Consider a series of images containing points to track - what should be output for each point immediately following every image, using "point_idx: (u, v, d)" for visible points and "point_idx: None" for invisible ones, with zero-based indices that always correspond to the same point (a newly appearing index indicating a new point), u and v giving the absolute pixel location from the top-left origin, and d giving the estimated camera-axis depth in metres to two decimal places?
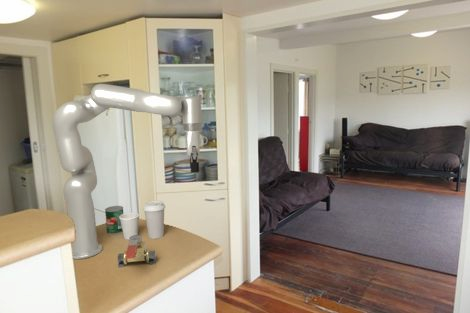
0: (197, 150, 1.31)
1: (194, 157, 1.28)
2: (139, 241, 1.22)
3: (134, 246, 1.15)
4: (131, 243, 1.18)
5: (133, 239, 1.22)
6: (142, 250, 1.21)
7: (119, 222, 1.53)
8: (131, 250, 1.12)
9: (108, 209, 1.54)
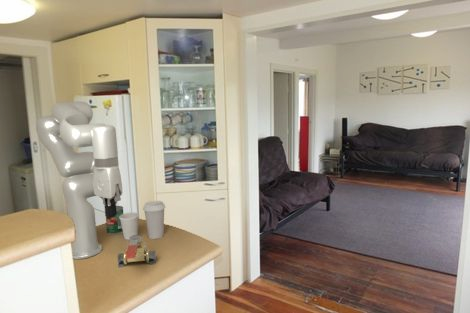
0: (121, 188, 1.11)
1: None
2: (139, 241, 1.22)
3: (134, 246, 1.15)
4: (131, 243, 1.18)
5: (133, 239, 1.22)
6: (142, 250, 1.21)
7: (119, 222, 1.53)
8: (131, 250, 1.12)
9: None
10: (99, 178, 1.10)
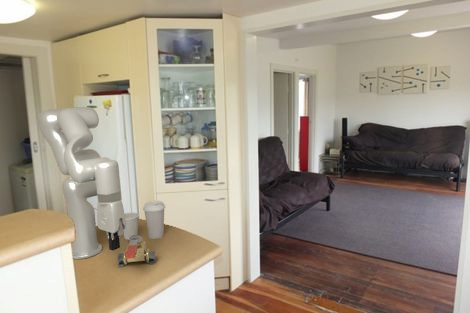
0: (124, 222, 1.12)
1: None
2: (139, 241, 1.22)
3: (134, 246, 1.15)
4: (131, 243, 1.18)
5: (133, 239, 1.22)
6: (142, 250, 1.21)
7: None
8: (131, 250, 1.12)
9: None
10: (103, 213, 1.12)
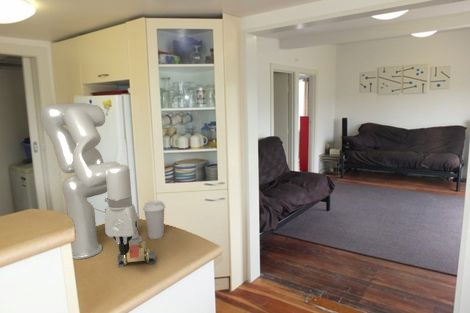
0: (137, 225, 1.14)
1: None
2: (139, 241, 1.22)
3: (136, 246, 1.15)
4: (132, 243, 1.18)
5: (134, 239, 1.22)
6: (142, 250, 1.21)
7: None
8: (134, 249, 1.12)
9: None
10: (116, 218, 1.11)
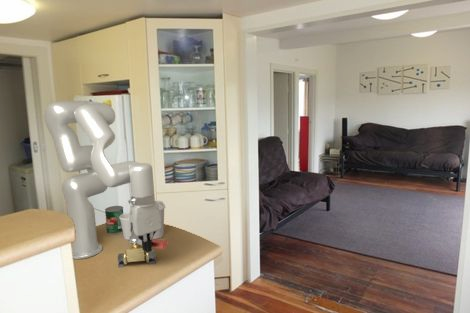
0: None
1: None
2: None
3: (155, 239, 1.20)
4: None
5: None
6: (142, 250, 1.21)
7: (119, 222, 1.53)
8: (160, 241, 1.19)
9: (108, 209, 1.54)
10: (148, 215, 1.13)
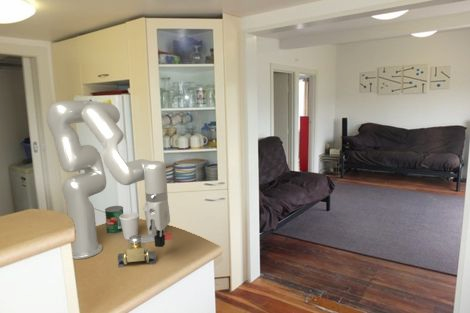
0: None
1: None
2: None
3: None
4: (150, 236, 1.24)
5: (139, 237, 1.23)
6: (142, 250, 1.21)
7: (119, 222, 1.53)
8: (166, 233, 1.25)
9: (108, 209, 1.54)
10: (164, 210, 1.18)
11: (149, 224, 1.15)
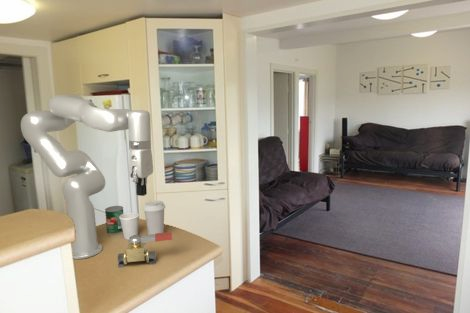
0: None
1: None
2: None
3: (158, 233, 1.26)
4: (150, 236, 1.24)
5: (139, 237, 1.23)
6: (142, 250, 1.21)
7: (119, 222, 1.53)
8: (166, 233, 1.25)
9: (108, 209, 1.54)
10: (147, 159, 1.20)
11: (131, 171, 1.17)
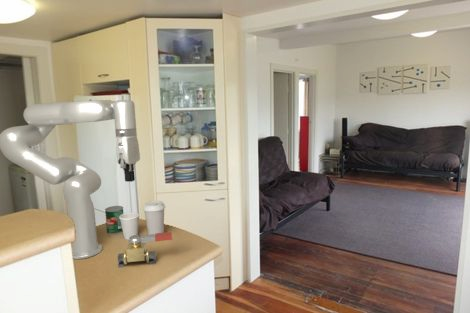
0: None
1: None
2: None
3: (158, 233, 1.26)
4: (150, 236, 1.24)
5: (139, 237, 1.23)
6: (142, 250, 1.21)
7: (119, 222, 1.53)
8: (166, 233, 1.25)
9: (108, 209, 1.54)
10: (133, 146, 1.26)
11: (118, 157, 1.23)
